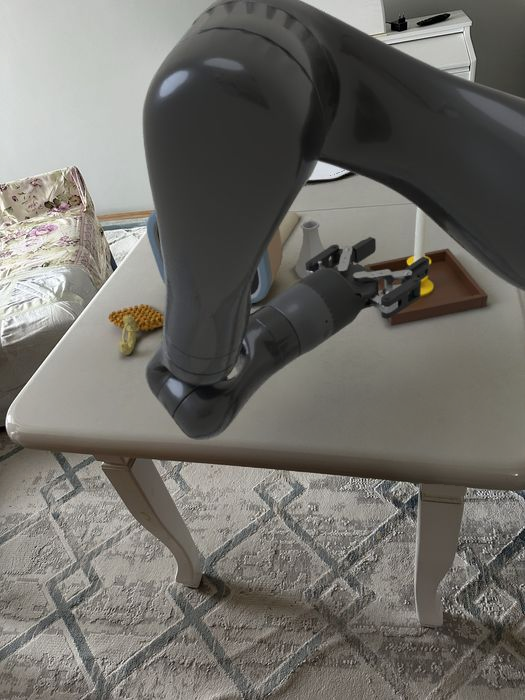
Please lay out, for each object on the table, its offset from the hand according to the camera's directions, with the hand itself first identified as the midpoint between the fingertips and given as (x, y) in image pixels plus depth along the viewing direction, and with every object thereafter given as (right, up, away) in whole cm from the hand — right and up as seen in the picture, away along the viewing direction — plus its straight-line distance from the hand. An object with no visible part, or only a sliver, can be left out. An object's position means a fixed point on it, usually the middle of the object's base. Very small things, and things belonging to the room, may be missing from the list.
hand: (398, 253), depth 67 cm
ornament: (-40, -10, +26) cm, 48 cm away
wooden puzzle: (-21, +12, +47) cm, 53 cm away
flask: (-8, +2, +32) cm, 33 cm away
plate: (-2, +38, +72) cm, 81 cm away
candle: (+9, -2, +22) cm, 24 cm away
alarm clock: (-24, -2, +31) cm, 39 cm away
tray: (+10, -2, +22) cm, 25 cm away
